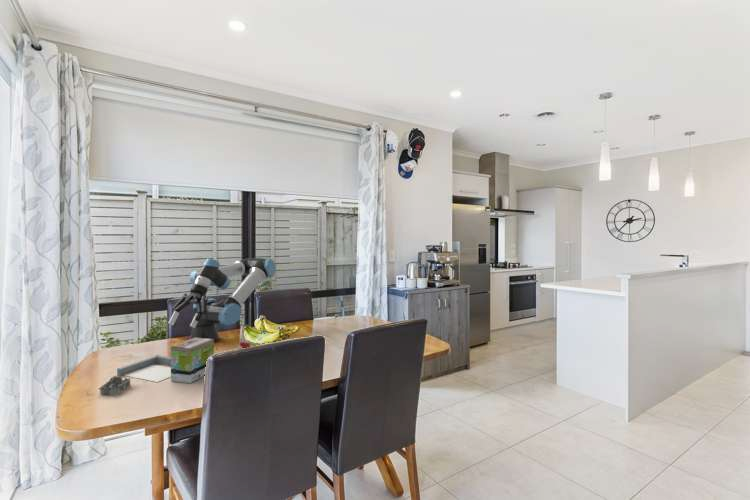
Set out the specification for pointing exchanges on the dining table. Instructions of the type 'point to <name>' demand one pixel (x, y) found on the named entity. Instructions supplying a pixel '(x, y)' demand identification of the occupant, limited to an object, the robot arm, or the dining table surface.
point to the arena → (148, 369)
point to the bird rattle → (244, 345)
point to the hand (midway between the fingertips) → (181, 325)
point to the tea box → (190, 359)
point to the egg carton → (114, 386)
